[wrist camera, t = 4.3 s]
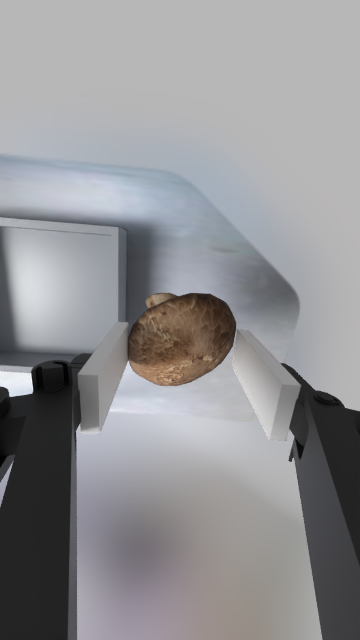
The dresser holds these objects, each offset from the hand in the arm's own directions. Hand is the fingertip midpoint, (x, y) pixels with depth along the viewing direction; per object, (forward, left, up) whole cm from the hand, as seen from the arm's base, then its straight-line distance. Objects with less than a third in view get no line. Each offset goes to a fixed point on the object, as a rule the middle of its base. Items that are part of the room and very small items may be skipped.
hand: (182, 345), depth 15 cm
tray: (-9, -11, -12) cm, 19 cm away
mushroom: (0, 0, -4) cm, 4 cm away
